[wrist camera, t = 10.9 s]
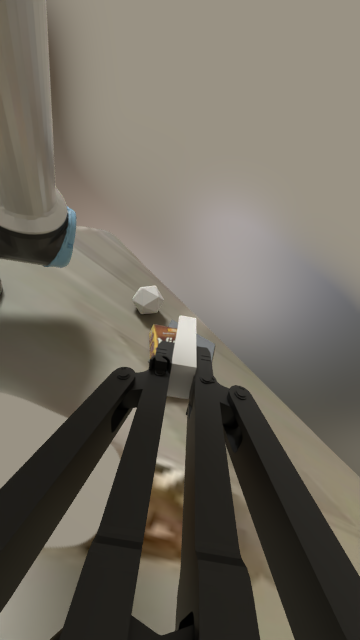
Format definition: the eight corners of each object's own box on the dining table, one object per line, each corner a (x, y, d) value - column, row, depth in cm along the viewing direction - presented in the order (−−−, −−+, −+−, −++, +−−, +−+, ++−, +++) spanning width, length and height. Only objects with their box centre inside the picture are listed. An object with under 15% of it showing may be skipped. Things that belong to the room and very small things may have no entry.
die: (147, 298, 63) (136, 276, 56) (170, 302, 60) (162, 279, 52) (136, 317, 59) (122, 296, 52) (159, 322, 56) (149, 301, 48)
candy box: (156, 376, 39) (152, 323, 49) (150, 386, 41) (148, 333, 52) (194, 379, 42) (183, 328, 53) (186, 388, 45) (177, 338, 55)
